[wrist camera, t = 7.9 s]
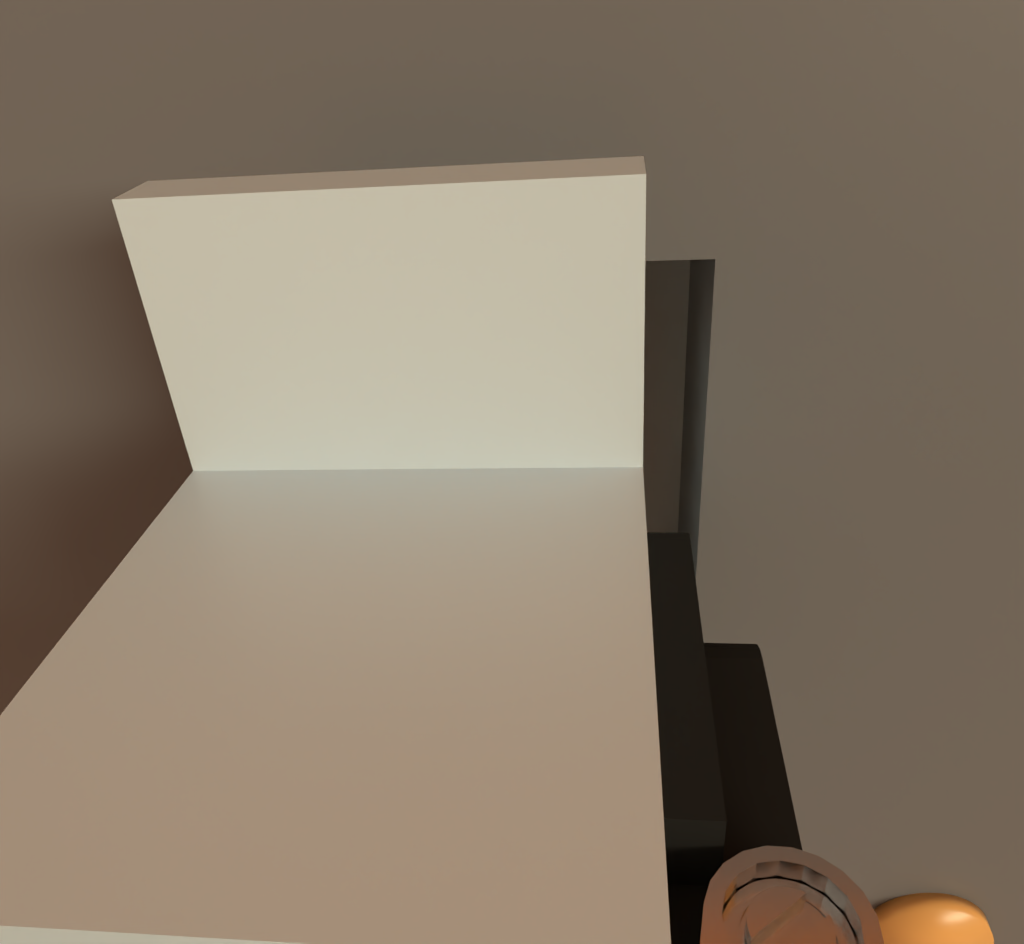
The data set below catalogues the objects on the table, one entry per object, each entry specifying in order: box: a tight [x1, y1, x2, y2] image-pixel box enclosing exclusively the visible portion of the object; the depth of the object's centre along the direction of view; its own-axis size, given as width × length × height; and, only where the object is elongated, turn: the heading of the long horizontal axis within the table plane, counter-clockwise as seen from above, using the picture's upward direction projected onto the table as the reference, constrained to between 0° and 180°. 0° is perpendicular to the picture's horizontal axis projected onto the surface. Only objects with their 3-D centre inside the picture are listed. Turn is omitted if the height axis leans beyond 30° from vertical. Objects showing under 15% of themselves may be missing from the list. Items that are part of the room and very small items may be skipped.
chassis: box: [0, 0, 1024, 944], centre depth 13 cm, size 20×20×4 cm
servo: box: [0, 156, 671, 944], centre depth 9 cm, size 4×12×9 cm, turn 4°
